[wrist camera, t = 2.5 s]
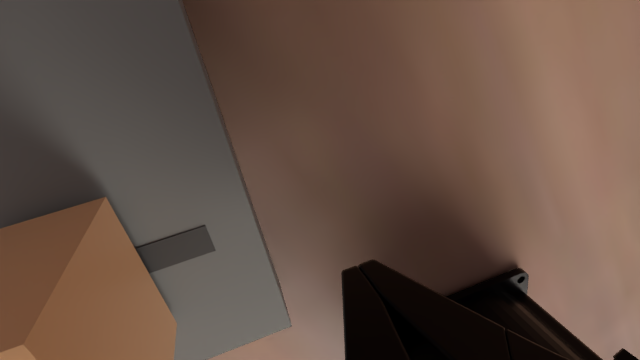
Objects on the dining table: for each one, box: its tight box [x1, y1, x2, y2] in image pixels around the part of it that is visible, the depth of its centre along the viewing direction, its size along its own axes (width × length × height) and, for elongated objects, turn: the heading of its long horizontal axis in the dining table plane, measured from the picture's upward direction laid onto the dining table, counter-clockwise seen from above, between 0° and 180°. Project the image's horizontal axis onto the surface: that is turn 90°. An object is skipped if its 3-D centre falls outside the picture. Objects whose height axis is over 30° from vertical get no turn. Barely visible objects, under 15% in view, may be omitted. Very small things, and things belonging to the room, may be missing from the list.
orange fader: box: [0, 197, 177, 360], centre depth 8 cm, size 3×5×5 cm, turn 11°
